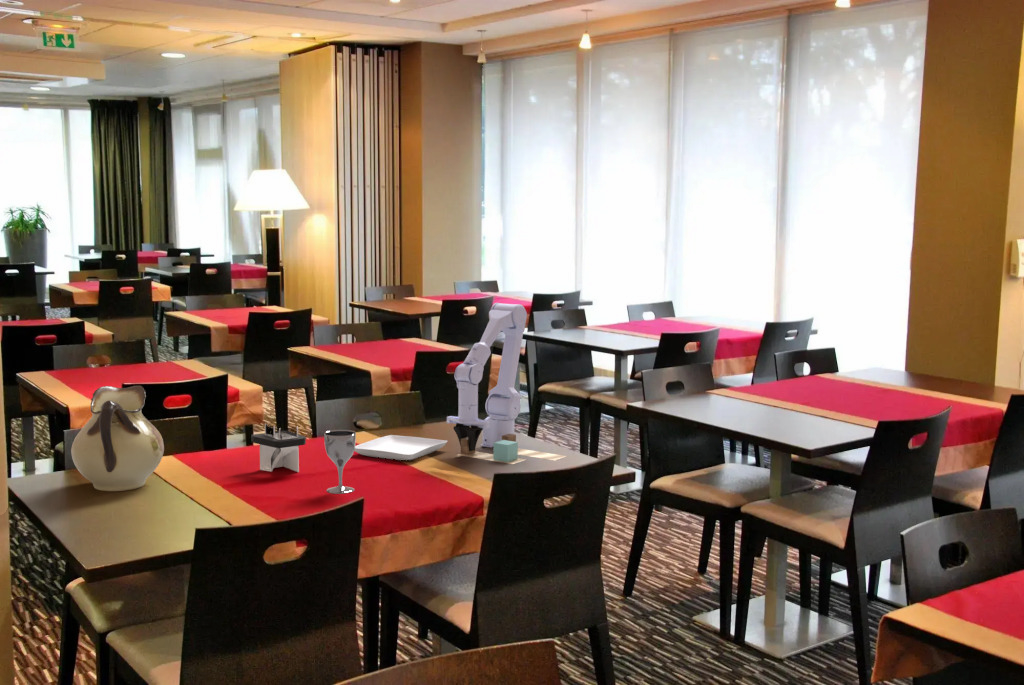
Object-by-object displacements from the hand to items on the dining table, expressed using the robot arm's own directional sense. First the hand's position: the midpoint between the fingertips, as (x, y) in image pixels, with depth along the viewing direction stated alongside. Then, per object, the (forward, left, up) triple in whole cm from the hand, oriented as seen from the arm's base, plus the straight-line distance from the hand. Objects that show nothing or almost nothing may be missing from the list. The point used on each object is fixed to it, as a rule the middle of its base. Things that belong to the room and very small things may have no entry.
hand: (467, 449), depth 312 cm
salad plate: (-19, -9, -2) cm, 21 cm away
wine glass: (-3, -51, -2) cm, 51 cm away
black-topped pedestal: (-30, -46, -3) cm, 55 cm away
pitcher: (-51, -82, -2) cm, 96 cm away
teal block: (+13, 0, -1) cm, 14 cm away
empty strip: (+15, +11, -2) cm, 19 cm away
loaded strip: (+8, 0, -2) cm, 9 cm away
